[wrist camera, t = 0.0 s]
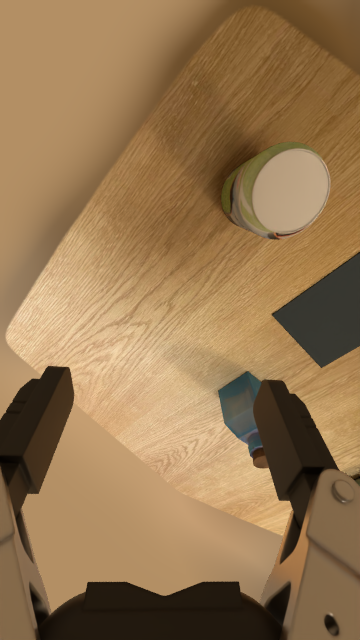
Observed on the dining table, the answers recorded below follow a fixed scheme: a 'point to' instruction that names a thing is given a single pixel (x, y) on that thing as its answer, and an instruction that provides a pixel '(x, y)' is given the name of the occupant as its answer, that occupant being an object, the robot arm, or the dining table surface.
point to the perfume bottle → (243, 414)
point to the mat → (327, 314)
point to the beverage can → (277, 191)
